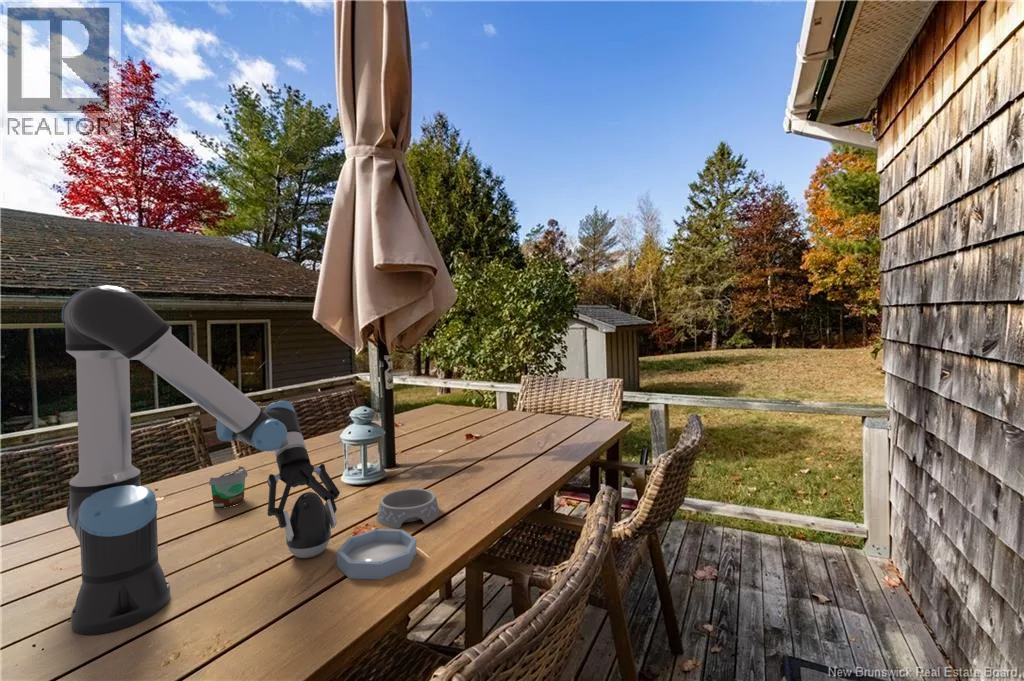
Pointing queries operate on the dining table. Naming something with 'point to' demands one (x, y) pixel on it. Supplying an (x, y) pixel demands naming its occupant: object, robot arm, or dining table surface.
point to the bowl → (376, 554)
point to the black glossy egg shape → (309, 526)
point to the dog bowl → (407, 507)
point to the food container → (228, 488)
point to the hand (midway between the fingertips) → (313, 532)
